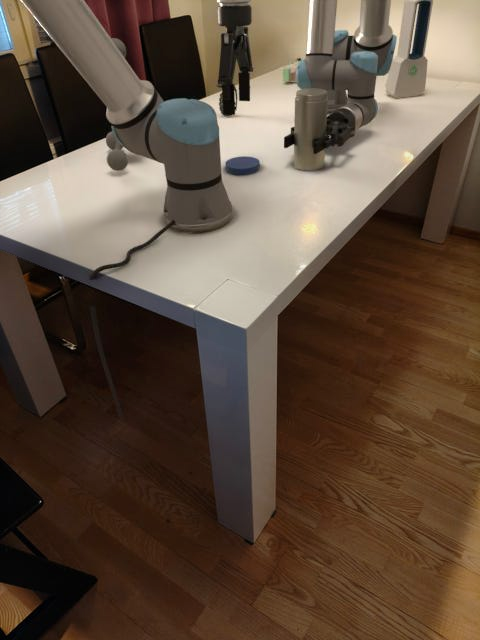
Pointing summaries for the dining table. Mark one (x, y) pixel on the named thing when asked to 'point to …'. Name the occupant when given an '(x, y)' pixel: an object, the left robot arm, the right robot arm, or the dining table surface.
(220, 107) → the grenade
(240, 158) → the lid
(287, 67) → the decorative block
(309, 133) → the jar
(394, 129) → the dining table surface
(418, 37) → the electronic device
